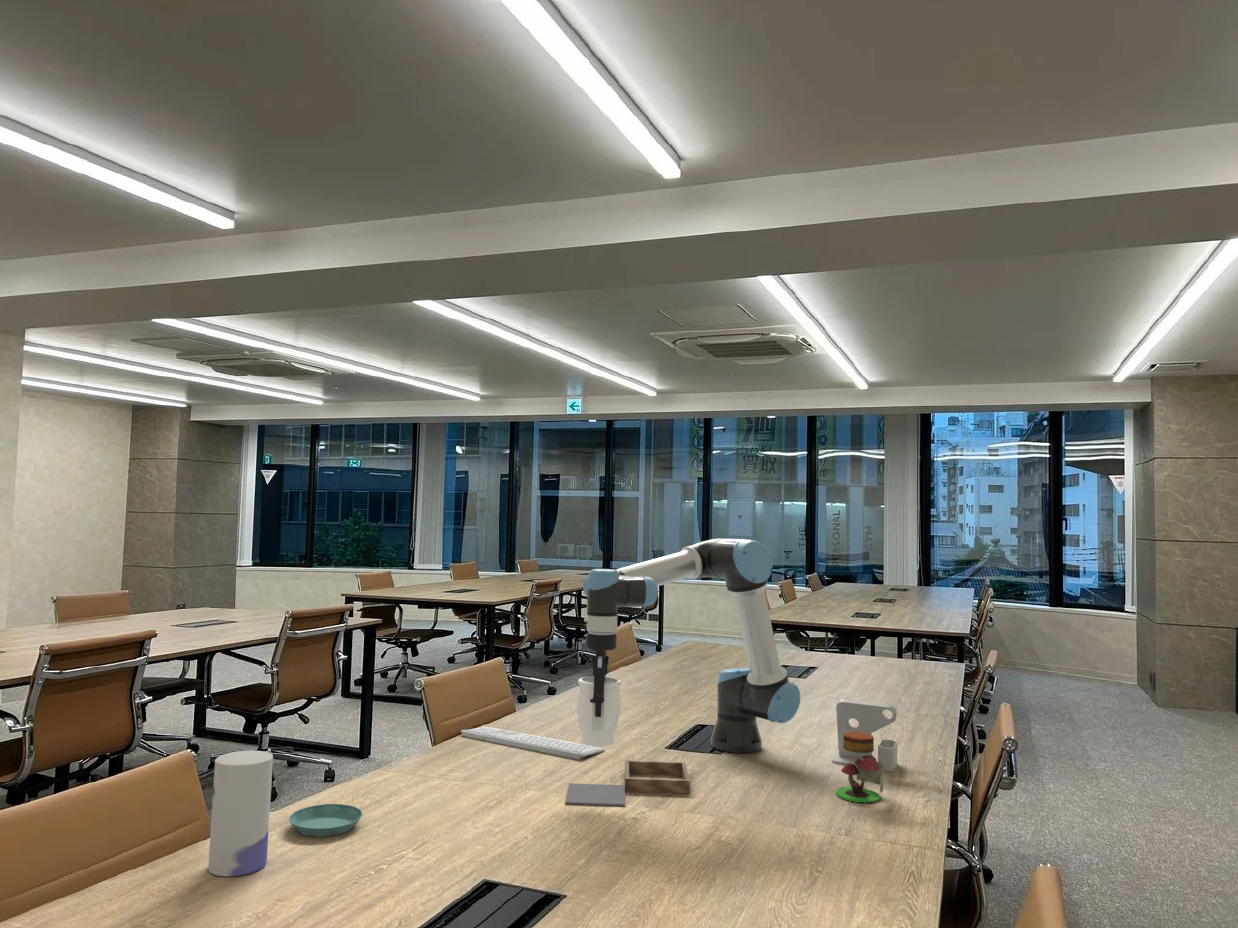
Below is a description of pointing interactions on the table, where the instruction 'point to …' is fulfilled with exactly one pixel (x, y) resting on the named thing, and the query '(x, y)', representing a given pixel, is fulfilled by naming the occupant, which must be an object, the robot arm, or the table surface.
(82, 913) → the table surface
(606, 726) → the jar
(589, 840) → the table surface
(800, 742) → the table surface
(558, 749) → the keyboard
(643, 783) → the holder frame
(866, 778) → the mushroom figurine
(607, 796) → the felt pad
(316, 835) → the saucer
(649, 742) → the table surface
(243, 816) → the container
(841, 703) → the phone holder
